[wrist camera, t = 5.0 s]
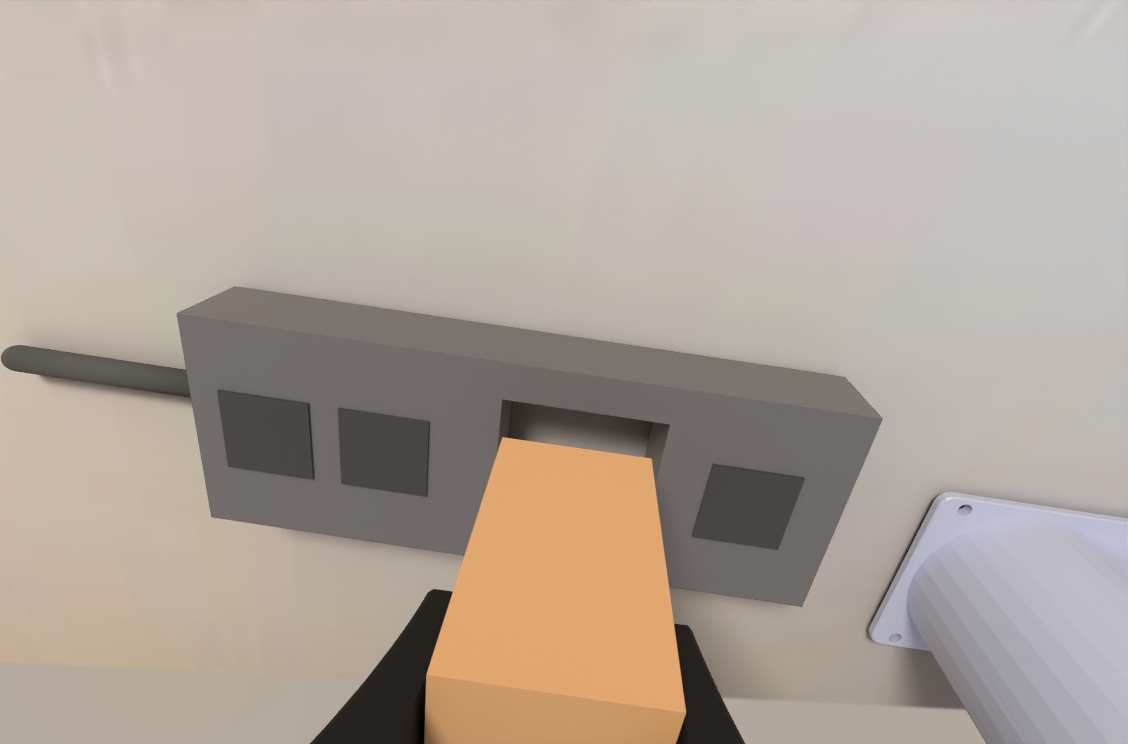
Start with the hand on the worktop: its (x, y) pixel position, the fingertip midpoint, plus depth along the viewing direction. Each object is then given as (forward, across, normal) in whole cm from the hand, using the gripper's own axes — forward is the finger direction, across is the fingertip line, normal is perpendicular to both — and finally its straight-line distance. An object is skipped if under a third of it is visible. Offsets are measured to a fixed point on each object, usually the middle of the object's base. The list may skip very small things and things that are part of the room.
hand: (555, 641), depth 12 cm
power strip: (+10, +6, +1) cm, 12 cm away
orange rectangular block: (+4, 0, 0) cm, 4 cm away
